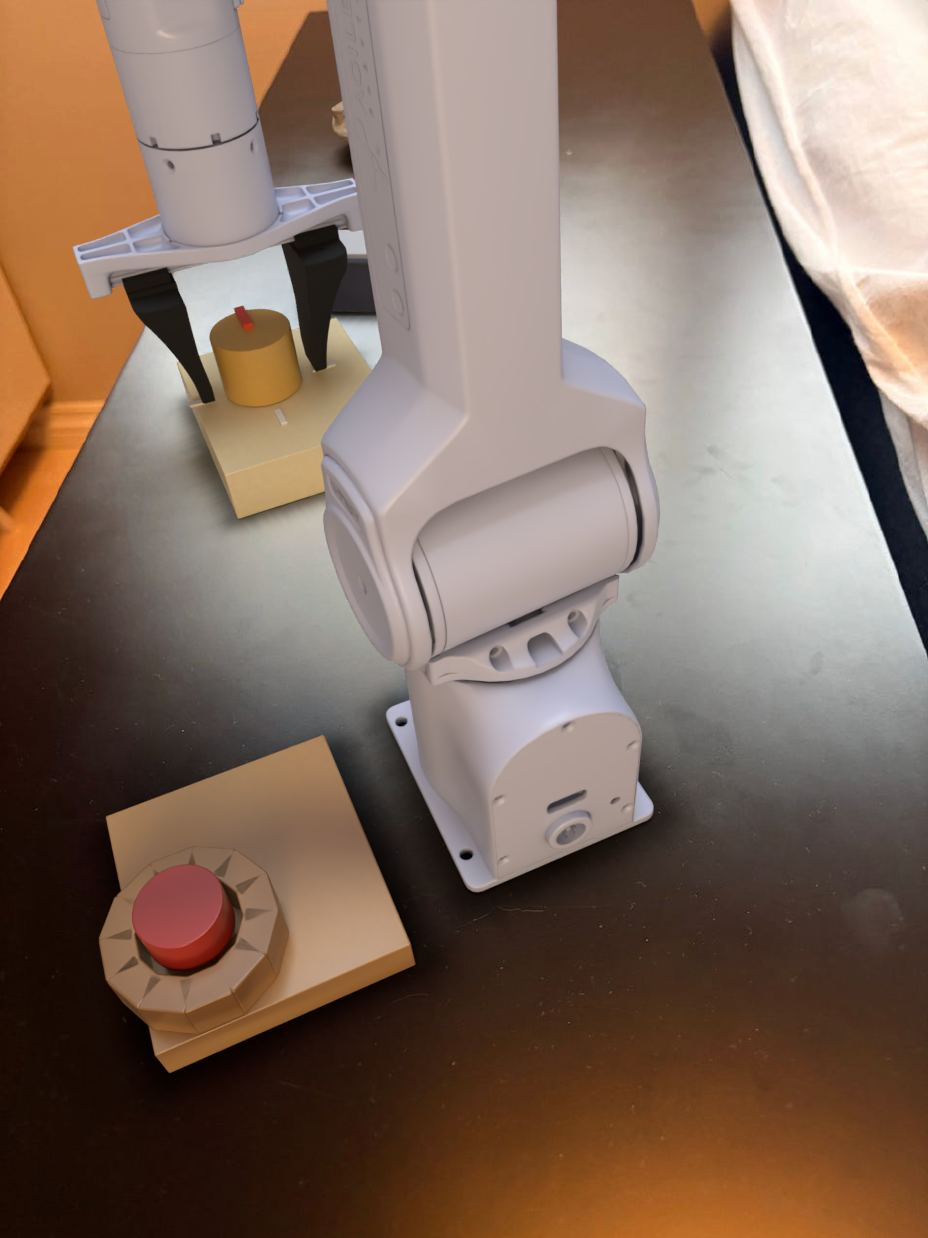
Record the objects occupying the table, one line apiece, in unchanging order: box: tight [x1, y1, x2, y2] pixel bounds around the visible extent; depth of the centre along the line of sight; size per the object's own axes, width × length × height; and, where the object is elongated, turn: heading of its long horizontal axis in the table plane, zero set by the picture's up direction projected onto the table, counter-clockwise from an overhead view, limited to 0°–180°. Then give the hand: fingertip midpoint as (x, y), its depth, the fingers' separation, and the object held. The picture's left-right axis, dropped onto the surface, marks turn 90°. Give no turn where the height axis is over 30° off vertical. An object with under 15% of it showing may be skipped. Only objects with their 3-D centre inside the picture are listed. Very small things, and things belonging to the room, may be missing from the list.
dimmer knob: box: [208, 305, 302, 407], centre depth 55 cm, size 4×4×4 cm
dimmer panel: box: [176, 317, 373, 520], centre depth 57 cm, size 12×10×3 cm
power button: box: [132, 864, 236, 971], centre depth 33 cm, size 3×3×2 cm
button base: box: [98, 734, 416, 1074], centre depth 36 cm, size 10×10×4 cm
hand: (261, 377), depth 56 cm, fingers open, 6 cm apart
